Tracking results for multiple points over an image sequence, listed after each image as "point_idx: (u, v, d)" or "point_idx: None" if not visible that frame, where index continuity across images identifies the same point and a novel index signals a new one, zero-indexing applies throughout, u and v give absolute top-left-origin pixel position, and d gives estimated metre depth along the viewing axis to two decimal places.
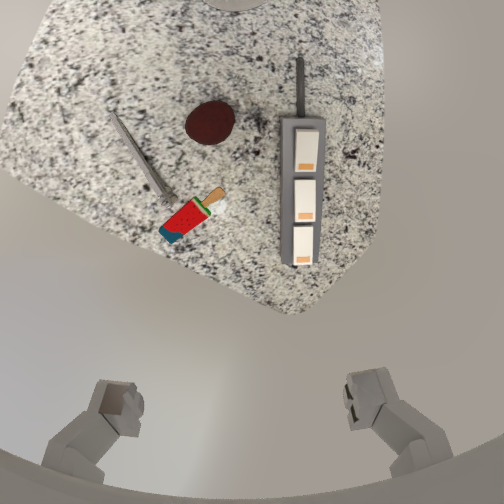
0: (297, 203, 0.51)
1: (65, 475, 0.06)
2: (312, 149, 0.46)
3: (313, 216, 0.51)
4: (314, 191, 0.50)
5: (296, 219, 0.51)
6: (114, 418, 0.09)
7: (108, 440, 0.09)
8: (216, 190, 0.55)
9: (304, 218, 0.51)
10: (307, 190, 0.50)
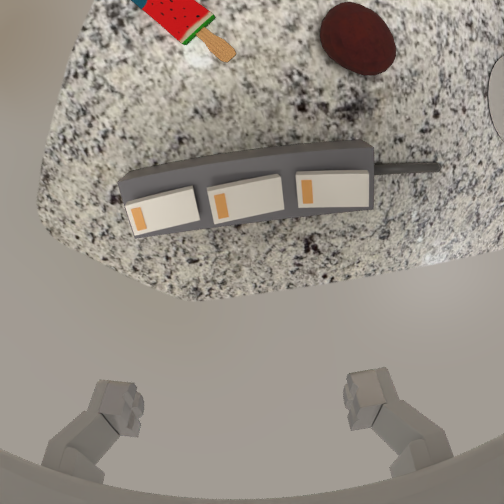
0: (241, 188, 0.29)
1: (65, 475, 0.06)
2: (338, 199, 0.29)
3: (222, 219, 0.30)
4: (265, 211, 0.30)
5: (212, 192, 0.28)
6: (114, 418, 0.09)
7: (108, 440, 0.09)
8: (230, 48, 0.27)
9: (217, 204, 0.29)
10: (265, 200, 0.30)
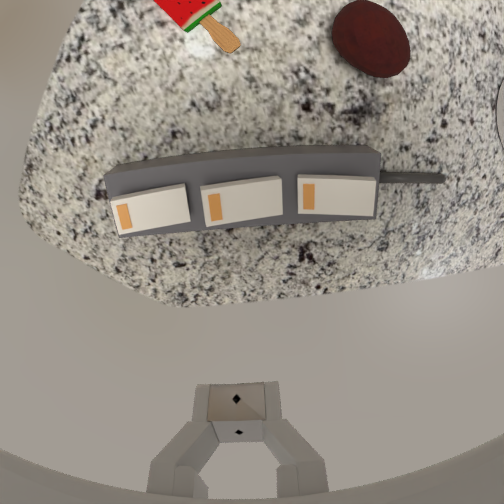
0: (238, 188, 0.26)
1: (65, 475, 0.06)
2: (341, 207, 0.27)
3: (216, 221, 0.27)
4: (262, 215, 0.28)
5: (206, 191, 0.26)
6: (224, 425, 0.09)
7: (210, 450, 0.09)
8: (234, 39, 0.24)
9: (210, 205, 0.26)
10: (263, 203, 0.27)
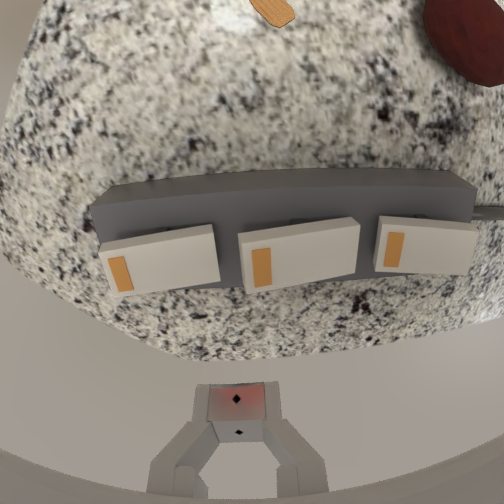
0: (298, 240, 0.17)
1: (65, 475, 0.06)
2: (432, 264, 0.18)
3: (261, 287, 0.18)
4: (328, 276, 0.19)
5: (250, 245, 0.17)
6: (224, 425, 0.09)
7: (210, 450, 0.09)
8: (286, 7, 0.15)
9: (254, 265, 0.17)
10: (332, 259, 0.18)
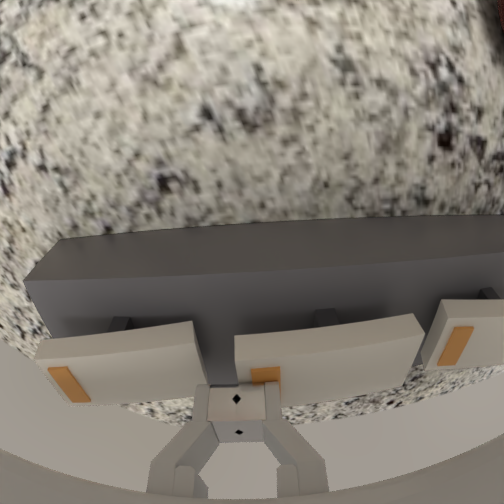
0: (327, 358, 0.10)
1: (65, 475, 0.06)
2: (495, 356, 0.11)
3: None
4: (364, 393, 0.12)
5: (248, 363, 0.10)
6: (224, 425, 0.09)
7: (210, 450, 0.09)
8: None
9: None
10: (374, 376, 0.11)
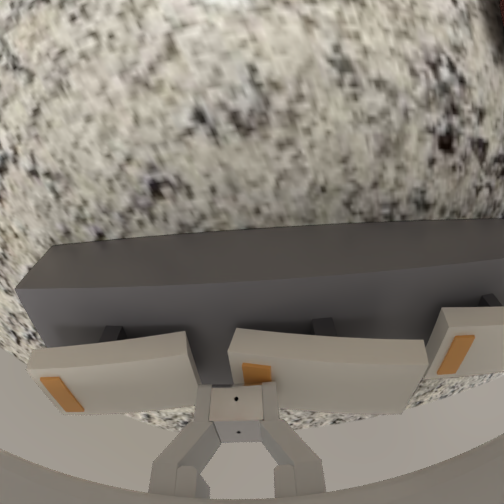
0: (318, 368, 0.10)
1: (65, 475, 0.06)
2: (496, 363, 0.11)
3: None
4: (359, 412, 0.11)
5: (240, 356, 0.10)
6: (226, 425, 0.09)
7: (212, 450, 0.09)
8: None
9: (248, 379, 0.11)
10: (370, 397, 0.10)
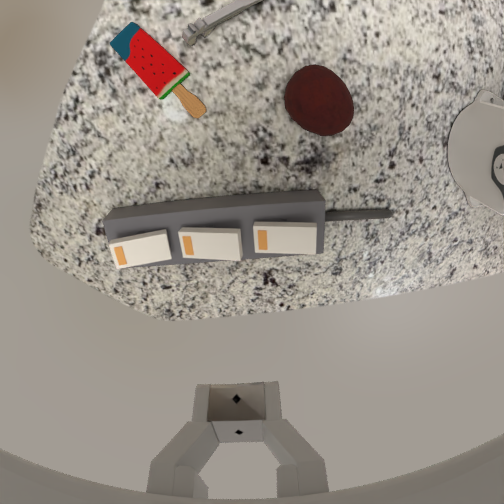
0: (204, 235, 0.34)
1: (65, 475, 0.06)
2: (289, 247, 0.35)
3: (189, 255, 0.36)
4: (223, 258, 0.35)
5: (181, 233, 0.35)
6: (224, 425, 0.09)
7: (210, 450, 0.09)
8: (201, 105, 0.32)
9: (185, 243, 0.35)
10: (224, 249, 0.35)
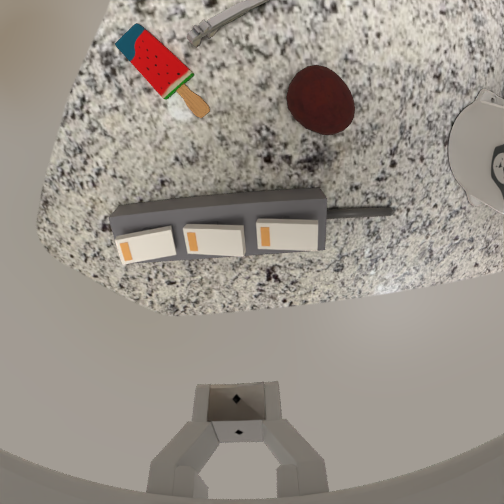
0: (208, 231, 0.35)
1: (65, 475, 0.06)
2: (291, 244, 0.36)
3: (193, 251, 0.37)
4: (227, 254, 0.36)
5: (186, 229, 0.36)
6: (224, 425, 0.09)
7: (210, 450, 0.09)
8: (205, 105, 0.33)
9: (189, 239, 0.36)
10: (227, 245, 0.35)
